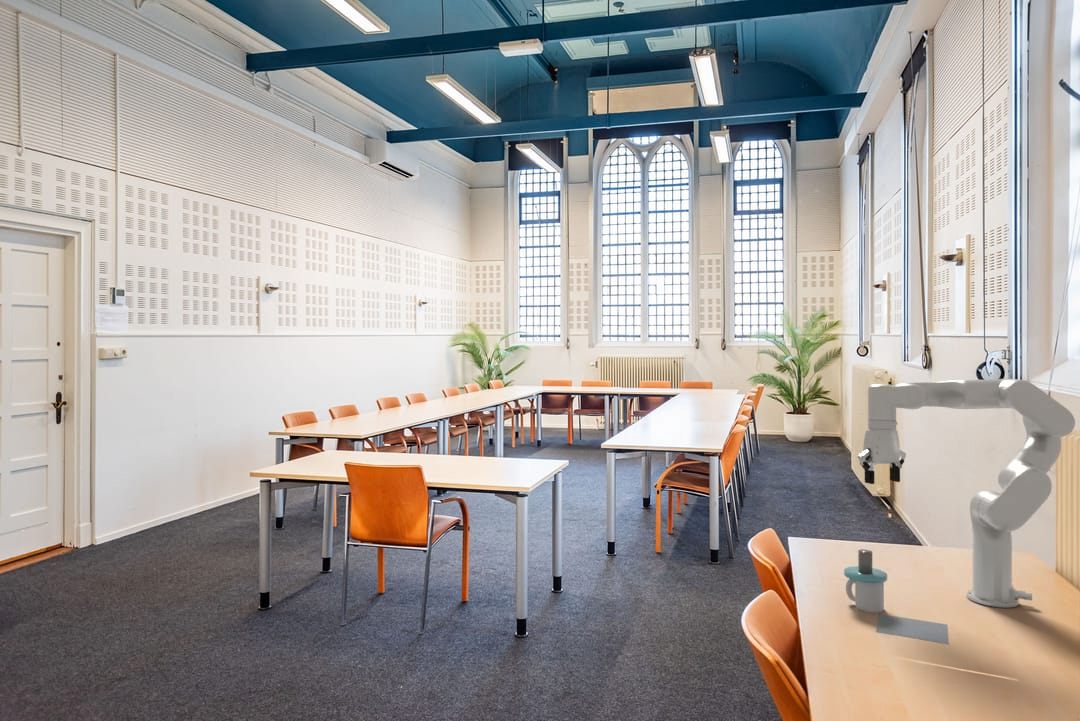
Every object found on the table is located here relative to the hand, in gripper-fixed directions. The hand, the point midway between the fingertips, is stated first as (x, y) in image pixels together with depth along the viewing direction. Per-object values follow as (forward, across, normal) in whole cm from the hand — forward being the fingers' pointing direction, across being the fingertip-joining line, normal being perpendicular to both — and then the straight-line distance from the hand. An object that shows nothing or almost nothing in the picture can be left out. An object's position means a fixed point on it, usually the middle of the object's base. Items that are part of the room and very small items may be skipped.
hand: (882, 482), depth 204 cm
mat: (+33, +15, +24) cm, 44 cm away
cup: (+34, +15, +8) cm, 37 cm away
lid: (+24, +14, +8) cm, 29 cm away
